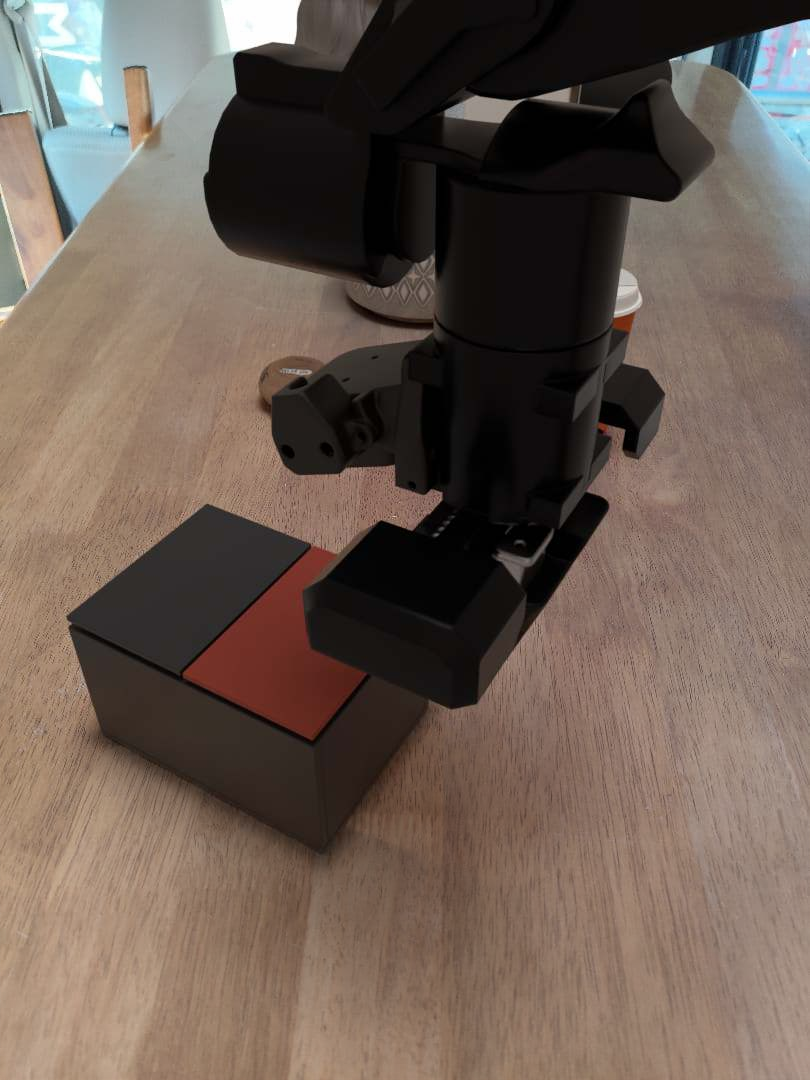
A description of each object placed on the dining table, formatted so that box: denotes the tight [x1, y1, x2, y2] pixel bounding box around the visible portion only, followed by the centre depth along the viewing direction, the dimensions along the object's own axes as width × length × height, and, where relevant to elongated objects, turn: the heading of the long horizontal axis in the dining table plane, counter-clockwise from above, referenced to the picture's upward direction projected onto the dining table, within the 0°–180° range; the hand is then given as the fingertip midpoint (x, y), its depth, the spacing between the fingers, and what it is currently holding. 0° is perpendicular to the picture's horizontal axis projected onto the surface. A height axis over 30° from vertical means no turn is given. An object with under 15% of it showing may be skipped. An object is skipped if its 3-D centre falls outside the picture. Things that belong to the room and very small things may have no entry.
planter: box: [344, 251, 435, 324], centre depth 92 cm, size 16×16×13 cm
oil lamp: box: [257, 355, 326, 405], centre depth 78 cm, size 9×4×8 cm
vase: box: [579, 60, 673, 109], centre depth 138 cm, size 18×18×35 cm
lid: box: [183, 545, 367, 740], centre depth 44 cm, size 7×11×1 cm
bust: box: [293, 0, 382, 58], centre depth 136 cm, size 34×34×35 cm
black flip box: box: [65, 503, 430, 855], centre depth 49 cm, size 15×11×9 cm
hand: (495, 654), depth 39 cm, fingers closed
